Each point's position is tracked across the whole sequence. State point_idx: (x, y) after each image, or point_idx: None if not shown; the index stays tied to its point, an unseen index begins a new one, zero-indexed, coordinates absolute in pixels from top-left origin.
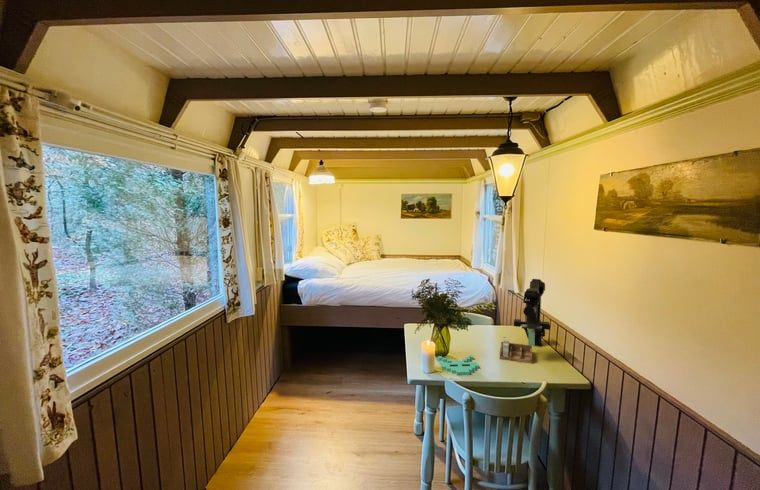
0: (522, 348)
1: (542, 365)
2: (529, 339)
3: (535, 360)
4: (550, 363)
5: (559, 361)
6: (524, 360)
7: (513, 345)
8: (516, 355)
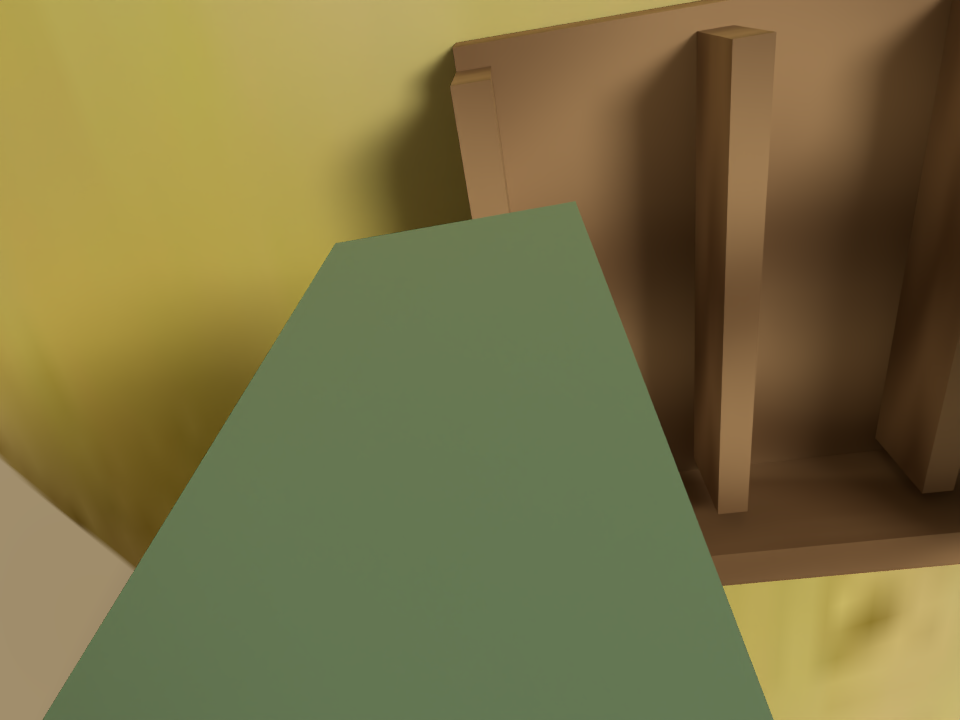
0: (693, 504)
1: (244, 69)
2: (573, 335)
3: None
4: (154, 249)
5: (71, 397)
6: (619, 18)
7: (891, 513)
8: (804, 207)
